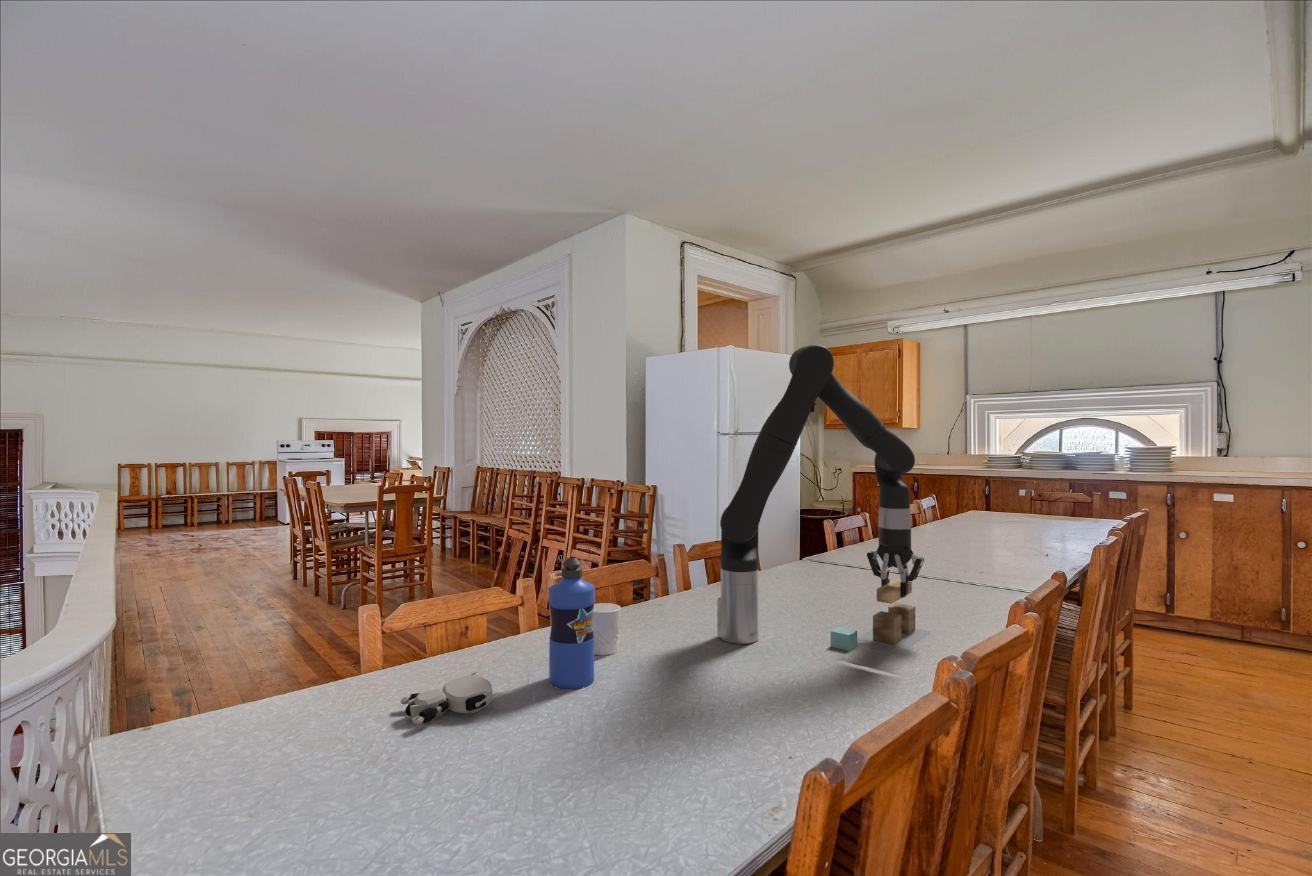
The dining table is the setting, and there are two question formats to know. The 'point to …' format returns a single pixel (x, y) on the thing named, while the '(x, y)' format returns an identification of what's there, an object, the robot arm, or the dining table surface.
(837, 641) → the cube
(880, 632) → the pillar
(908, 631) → the pillar
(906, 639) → the board
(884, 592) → the plank
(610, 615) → the white cup
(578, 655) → the water bottle
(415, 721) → the robot toy
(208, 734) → the dining table surface
